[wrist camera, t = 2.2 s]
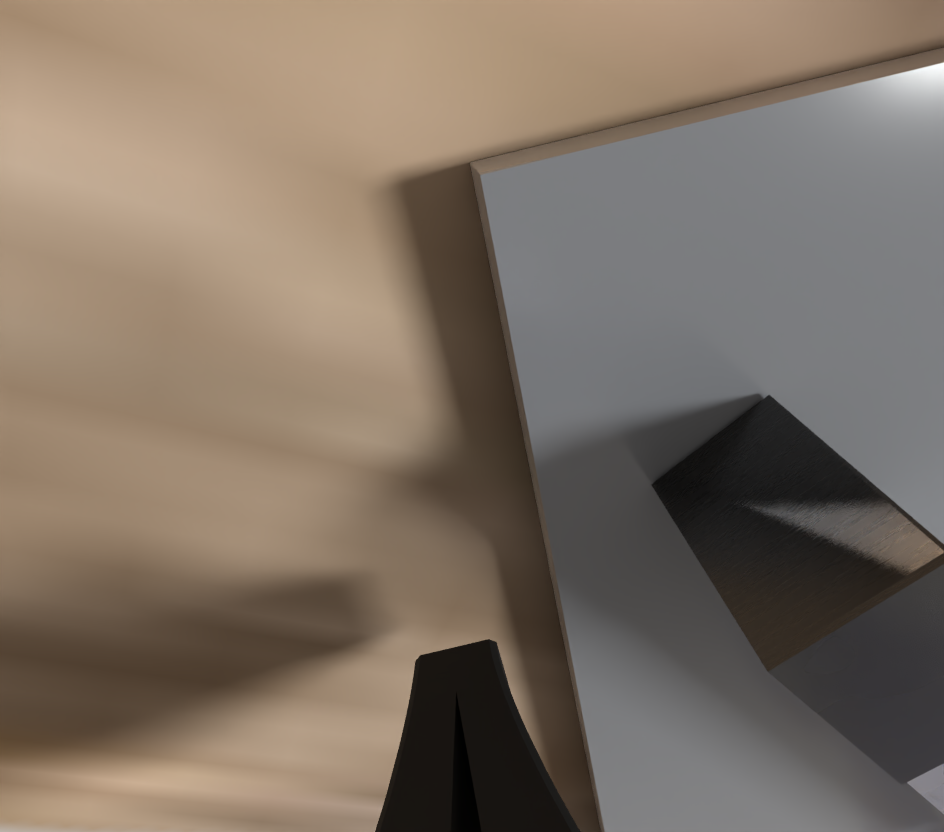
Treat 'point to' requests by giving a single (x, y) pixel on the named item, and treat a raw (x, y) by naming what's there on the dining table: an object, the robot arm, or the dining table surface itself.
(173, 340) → the dining table surface
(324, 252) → the dining table surface
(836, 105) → the slate board
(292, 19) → the dining table surface
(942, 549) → the bar
